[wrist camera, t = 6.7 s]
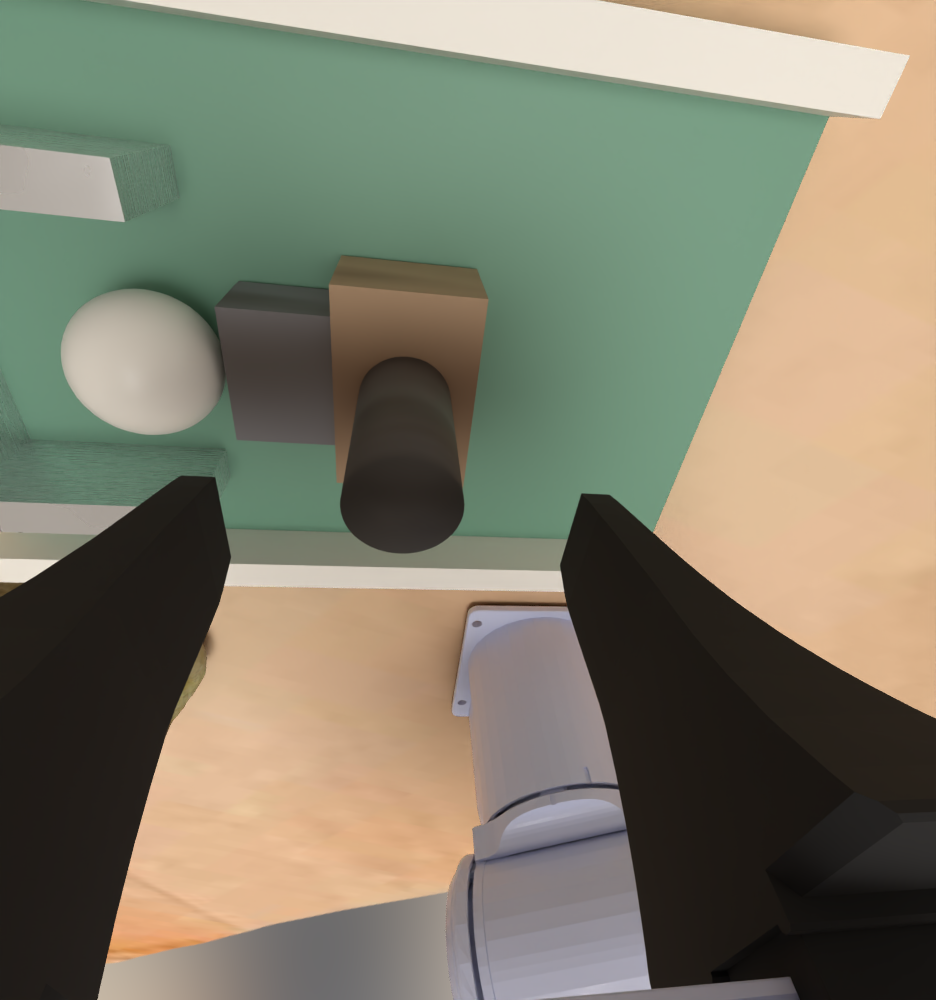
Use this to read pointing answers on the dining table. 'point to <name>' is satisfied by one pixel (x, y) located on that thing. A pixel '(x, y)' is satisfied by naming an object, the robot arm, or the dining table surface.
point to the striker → (366, 386)
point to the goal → (3, 436)
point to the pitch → (428, 233)
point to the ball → (143, 361)
